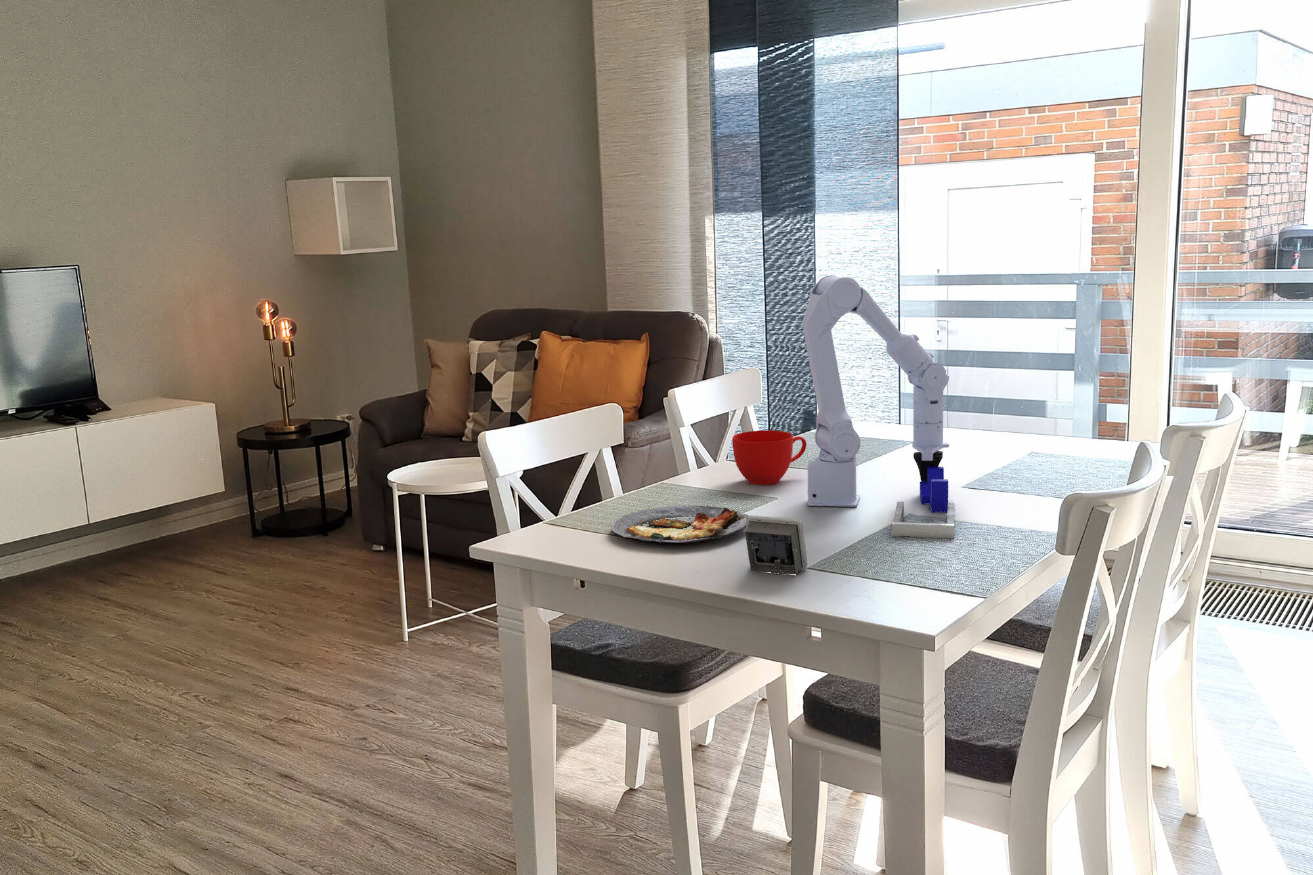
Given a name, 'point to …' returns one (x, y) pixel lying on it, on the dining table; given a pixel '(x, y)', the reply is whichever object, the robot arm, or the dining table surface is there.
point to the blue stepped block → (935, 490)
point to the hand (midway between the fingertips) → (928, 488)
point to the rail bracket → (923, 525)
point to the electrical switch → (775, 544)
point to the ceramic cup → (765, 455)
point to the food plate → (680, 524)
